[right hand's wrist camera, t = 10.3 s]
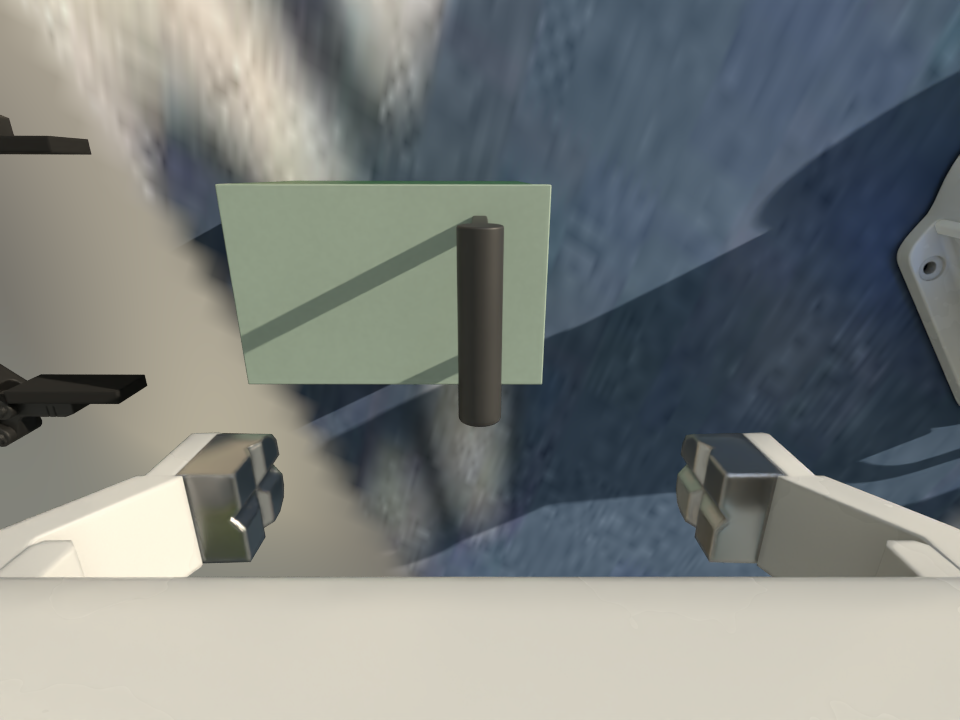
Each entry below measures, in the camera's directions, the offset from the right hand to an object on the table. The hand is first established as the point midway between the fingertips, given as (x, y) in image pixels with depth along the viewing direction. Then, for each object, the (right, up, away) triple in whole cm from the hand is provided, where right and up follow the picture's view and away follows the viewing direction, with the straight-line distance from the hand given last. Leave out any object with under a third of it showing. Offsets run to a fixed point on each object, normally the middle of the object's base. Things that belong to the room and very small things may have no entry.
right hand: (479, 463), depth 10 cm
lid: (-4, +6, +16) cm, 17 cm away
